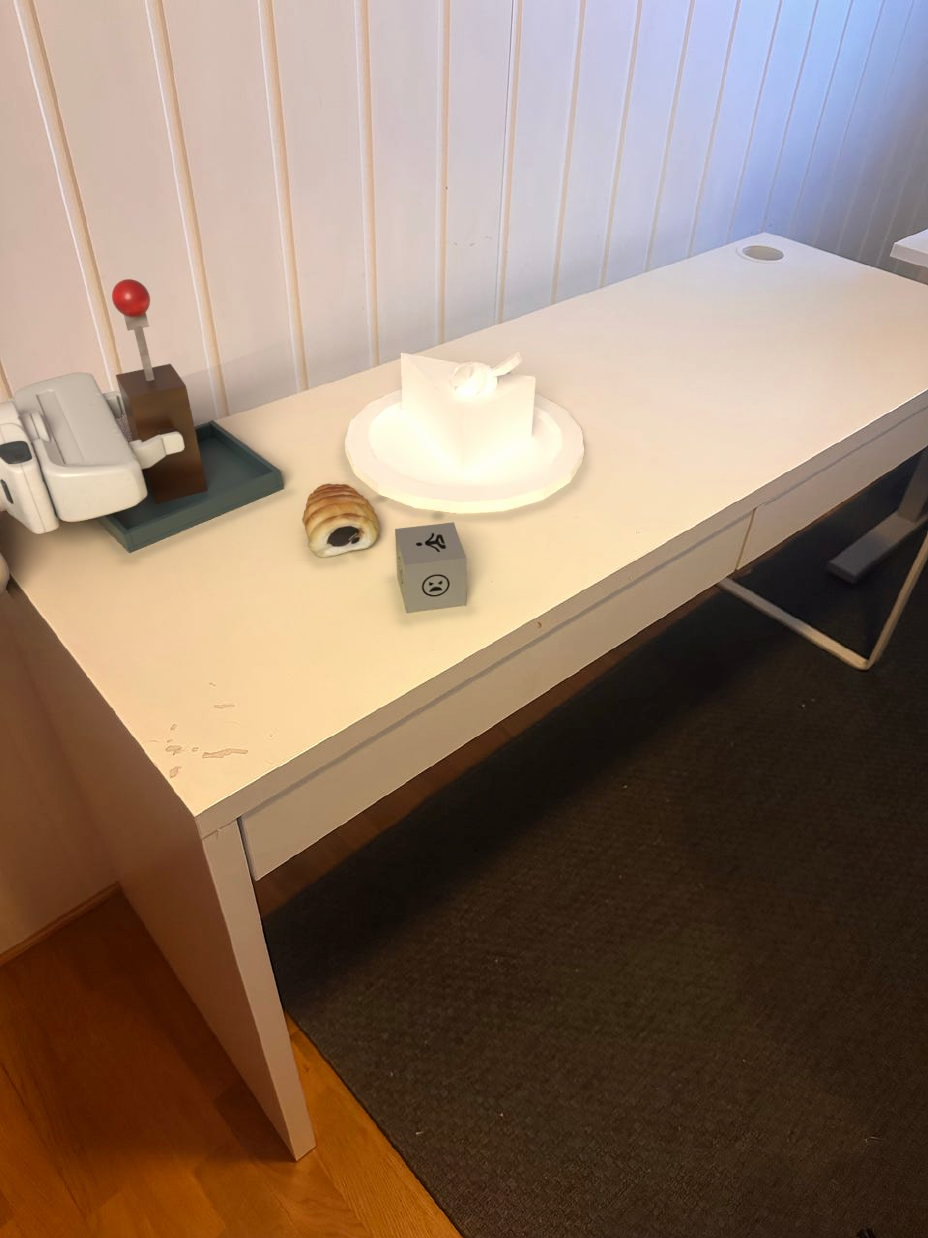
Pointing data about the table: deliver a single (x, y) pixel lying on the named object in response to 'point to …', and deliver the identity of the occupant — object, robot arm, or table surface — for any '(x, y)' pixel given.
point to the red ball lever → (157, 405)
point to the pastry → (339, 520)
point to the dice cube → (431, 567)
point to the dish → (464, 439)
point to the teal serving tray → (229, 486)
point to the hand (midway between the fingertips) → (169, 418)
